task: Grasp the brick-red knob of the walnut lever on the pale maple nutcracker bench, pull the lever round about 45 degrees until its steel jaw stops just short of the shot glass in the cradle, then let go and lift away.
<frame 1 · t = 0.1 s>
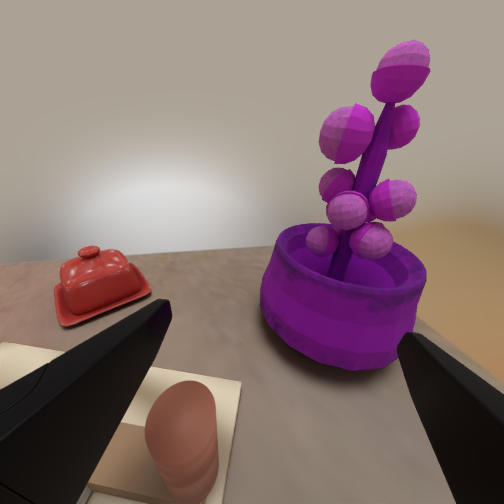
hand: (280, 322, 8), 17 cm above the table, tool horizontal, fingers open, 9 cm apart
decorative plant: (320, 322, 30), on the table
lever: (42, 428, 12), point 7 cm above the table, hinge at 0.0°
butter dish: (106, 295, 32), on the table
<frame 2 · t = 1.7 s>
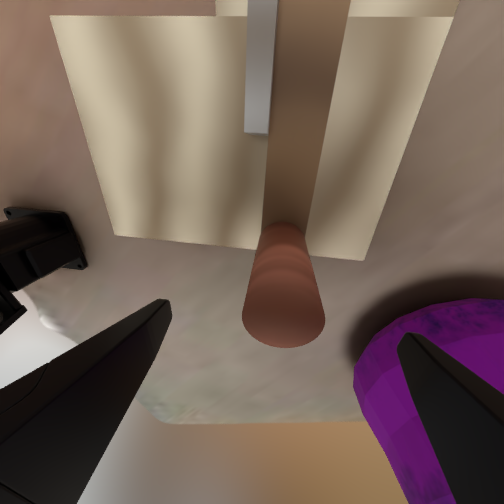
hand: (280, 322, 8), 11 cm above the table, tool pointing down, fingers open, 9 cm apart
decorative plant: (433, 342, 22), on the table
lever: (305, 44, 7), point 6 cm above the table, hinge at 0.0°
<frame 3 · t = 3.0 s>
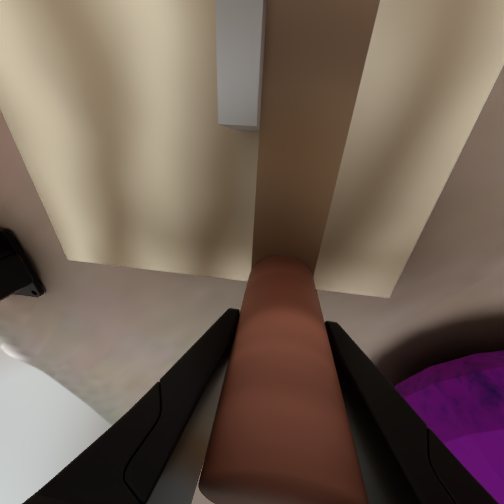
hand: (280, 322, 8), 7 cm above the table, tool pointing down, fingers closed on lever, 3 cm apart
decorative plant: (467, 387, 18), on the table
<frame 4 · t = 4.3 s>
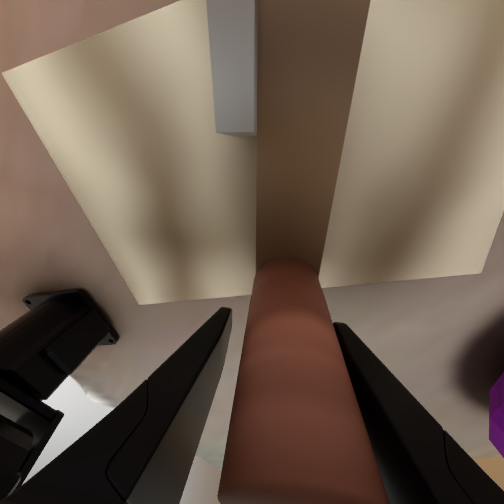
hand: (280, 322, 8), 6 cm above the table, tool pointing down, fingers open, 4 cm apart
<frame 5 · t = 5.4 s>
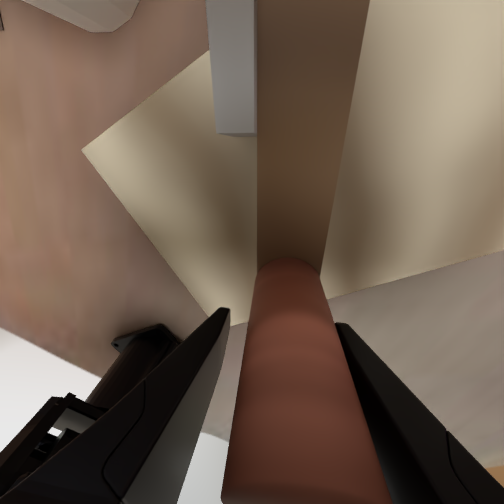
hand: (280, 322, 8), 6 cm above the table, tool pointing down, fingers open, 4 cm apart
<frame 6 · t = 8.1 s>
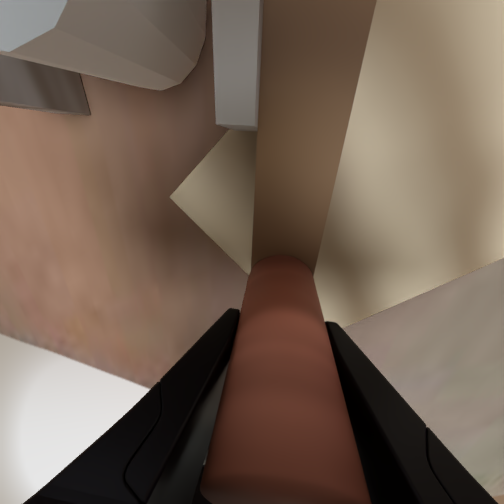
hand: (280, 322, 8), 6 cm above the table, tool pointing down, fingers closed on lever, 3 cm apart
shot glass: (147, 13, 9), on the table
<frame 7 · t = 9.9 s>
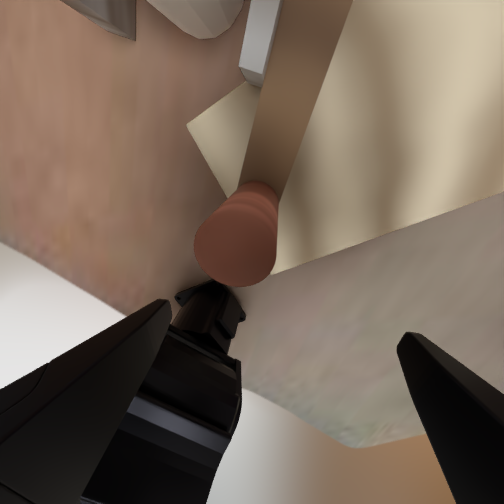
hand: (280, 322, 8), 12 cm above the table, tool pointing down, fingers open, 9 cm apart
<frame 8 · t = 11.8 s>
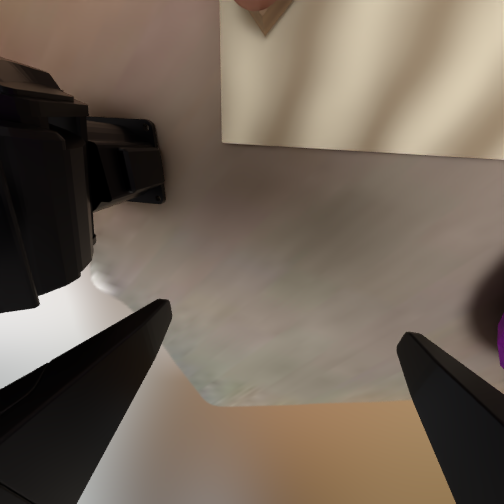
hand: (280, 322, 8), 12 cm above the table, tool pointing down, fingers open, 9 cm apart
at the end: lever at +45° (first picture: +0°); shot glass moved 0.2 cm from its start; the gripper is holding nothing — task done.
